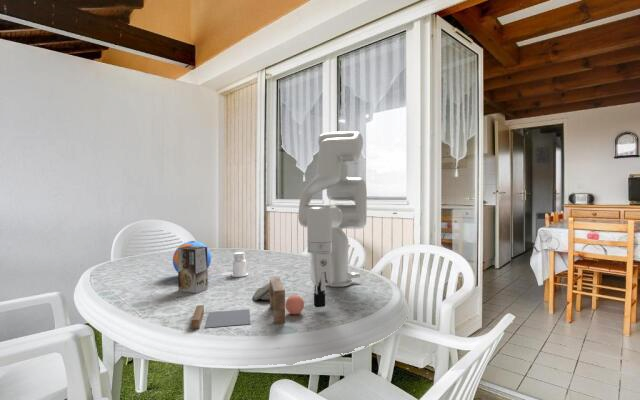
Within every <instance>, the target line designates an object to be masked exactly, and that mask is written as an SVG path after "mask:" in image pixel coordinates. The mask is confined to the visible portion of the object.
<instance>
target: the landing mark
mask: <svg viewBox="0 0 640 400" xmlns="http://www.w3.org/2000/svg"><path fill="white" fill-rule="evenodd" d="M250 314H251V313H250V309H249V308H248V309H233V310H221V311H220V310H219V311H209V312H208V316H207V319H206V323H205V327H204V328H205V329H211V328H221V327H224V328H225V327H236V326H246V325H247V326H249V325H251V315H250Z"/></svg>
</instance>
